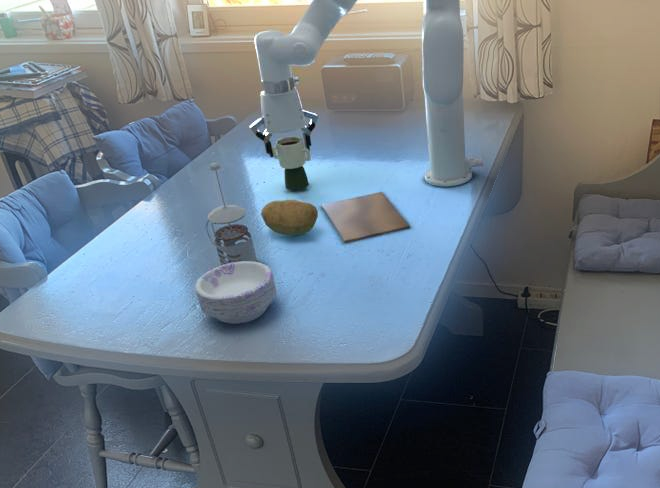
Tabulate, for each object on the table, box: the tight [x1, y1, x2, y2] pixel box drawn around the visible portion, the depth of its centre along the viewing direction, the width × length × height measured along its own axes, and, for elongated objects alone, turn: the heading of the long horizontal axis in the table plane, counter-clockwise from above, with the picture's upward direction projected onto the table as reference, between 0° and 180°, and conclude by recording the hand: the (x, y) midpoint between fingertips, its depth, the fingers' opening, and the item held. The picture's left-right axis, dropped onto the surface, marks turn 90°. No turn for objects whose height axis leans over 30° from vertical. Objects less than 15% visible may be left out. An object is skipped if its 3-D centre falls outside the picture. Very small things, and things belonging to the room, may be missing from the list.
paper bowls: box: [194, 261, 277, 325], centre depth 152 cm, size 15×15×8 cm
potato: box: [260, 199, 319, 236], centre depth 179 cm, size 10×14×8 cm
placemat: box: [321, 191, 411, 244], centre depth 186 cm, size 16×22×1 cm
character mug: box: [272, 135, 312, 192], centre depth 199 cm, size 11×7×13 cm, turn 70°
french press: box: [205, 162, 258, 266], centre depth 161 cm, size 10×12×25 cm
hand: (289, 152), depth 197 cm, fingers open, 9 cm apart
